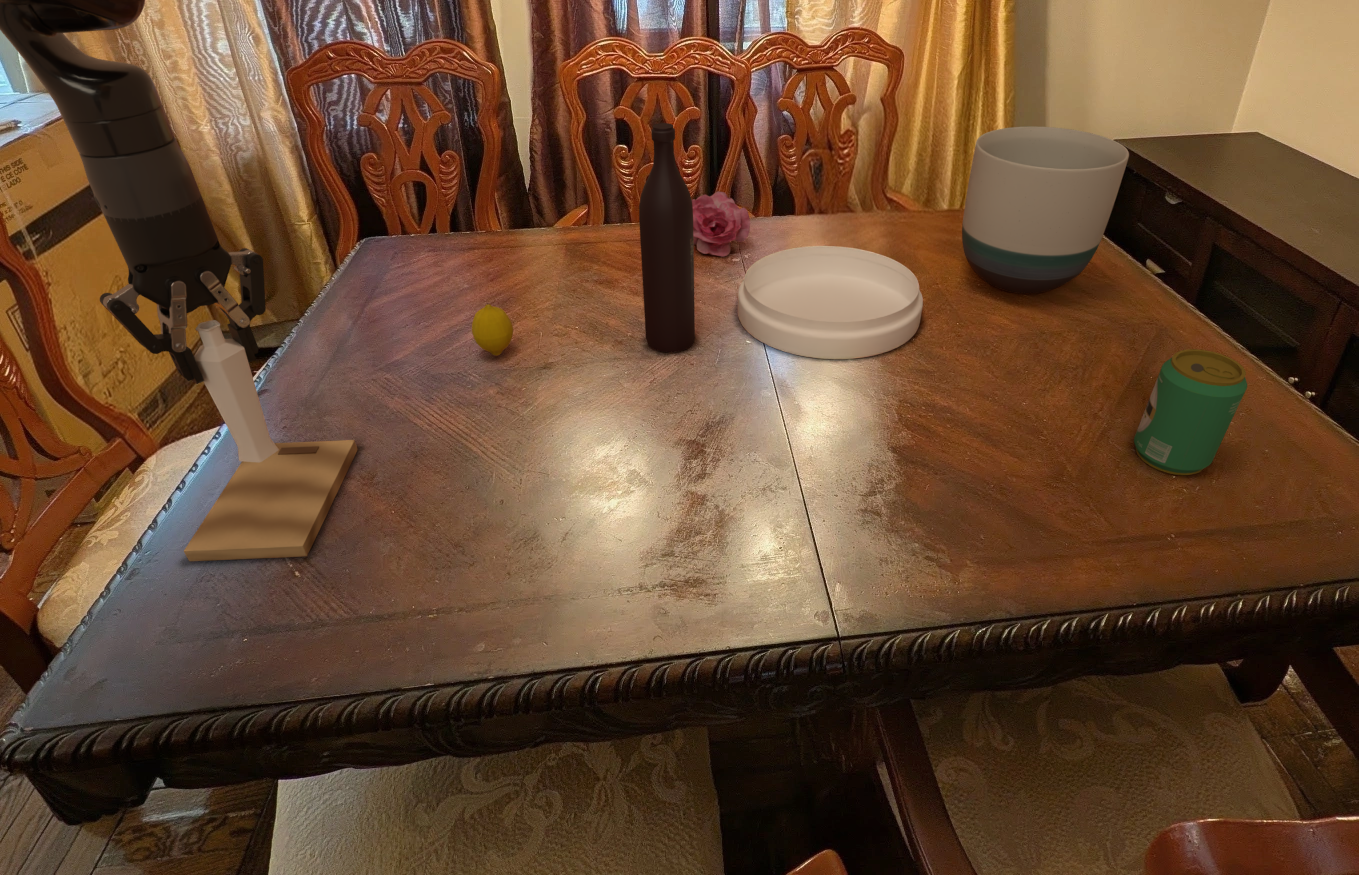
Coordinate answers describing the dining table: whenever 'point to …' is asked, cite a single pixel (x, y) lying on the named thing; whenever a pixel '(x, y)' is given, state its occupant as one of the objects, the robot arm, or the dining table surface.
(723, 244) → the flower
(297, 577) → the dining table surface
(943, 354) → the dining table surface
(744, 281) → the plate
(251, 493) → the serving board
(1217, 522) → the dining table surface
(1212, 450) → the beverage can
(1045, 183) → the planter
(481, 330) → the fruit
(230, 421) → the perfume bottle
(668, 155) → the wine bottle
